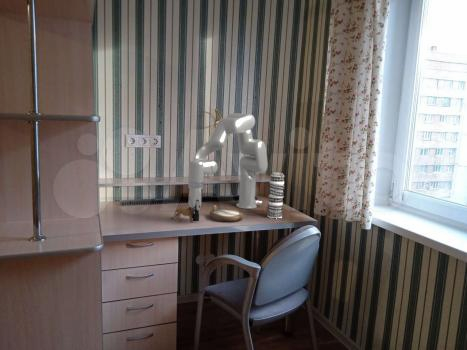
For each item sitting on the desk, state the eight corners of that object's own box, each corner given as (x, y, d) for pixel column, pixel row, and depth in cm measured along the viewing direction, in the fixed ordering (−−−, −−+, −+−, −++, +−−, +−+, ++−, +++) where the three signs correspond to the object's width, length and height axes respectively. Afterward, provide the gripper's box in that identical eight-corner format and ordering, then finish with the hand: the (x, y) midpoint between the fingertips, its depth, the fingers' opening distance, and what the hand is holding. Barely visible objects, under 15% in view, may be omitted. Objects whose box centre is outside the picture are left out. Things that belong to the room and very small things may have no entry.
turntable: (219, 210, 211) (220, 202, 210) (248, 215, 203) (248, 207, 202) (203, 217, 195) (203, 208, 195) (233, 223, 187) (233, 213, 187)
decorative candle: (262, 215, 208) (265, 171, 204) (275, 214, 213) (278, 171, 209) (273, 219, 200) (276, 174, 197) (286, 218, 206) (289, 173, 202)
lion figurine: (199, 220, 193) (200, 203, 191) (199, 222, 187) (199, 205, 186) (171, 218, 193) (172, 201, 191) (170, 221, 187) (170, 204, 186)
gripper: (185, 182, 194) (184, 215, 197) (191, 188, 178) (190, 224, 181) (199, 182, 196) (198, 215, 199) (206, 188, 180) (205, 224, 183)
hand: (194, 219), depth 190 cm, fingers closed on lion figurine, 4 cm apart
